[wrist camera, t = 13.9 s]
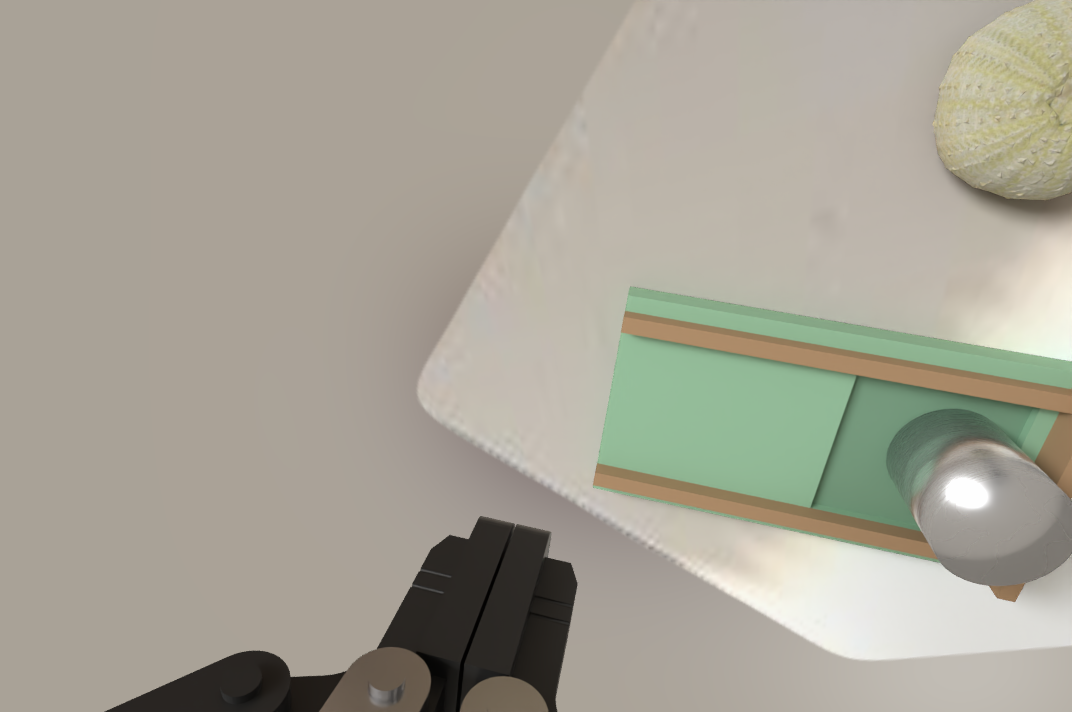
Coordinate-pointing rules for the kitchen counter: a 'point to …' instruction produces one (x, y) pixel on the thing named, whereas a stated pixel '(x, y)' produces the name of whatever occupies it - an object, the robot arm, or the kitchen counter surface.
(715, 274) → the kitchen counter surface
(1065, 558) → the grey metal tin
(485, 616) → the robot arm
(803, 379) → the green railed board
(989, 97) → the sea urchin shell
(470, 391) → the kitchen counter surface
